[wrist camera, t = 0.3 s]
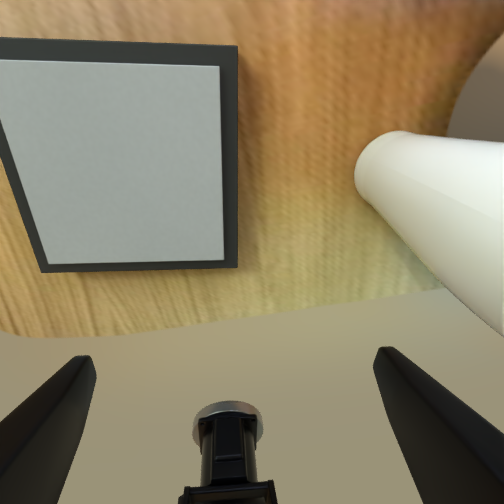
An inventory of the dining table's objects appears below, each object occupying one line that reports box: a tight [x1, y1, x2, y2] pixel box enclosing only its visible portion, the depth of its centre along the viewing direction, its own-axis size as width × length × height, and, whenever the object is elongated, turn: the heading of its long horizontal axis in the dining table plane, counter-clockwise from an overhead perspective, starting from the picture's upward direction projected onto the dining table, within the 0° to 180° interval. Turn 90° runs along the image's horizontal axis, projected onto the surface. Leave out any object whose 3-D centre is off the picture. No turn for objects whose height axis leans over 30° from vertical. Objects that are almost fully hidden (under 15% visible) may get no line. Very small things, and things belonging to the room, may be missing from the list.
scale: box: [0, 37, 238, 273], centre depth 20 cm, size 14×14×2 cm
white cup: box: [354, 131, 504, 337], centre depth 16 cm, size 7×7×15 cm
